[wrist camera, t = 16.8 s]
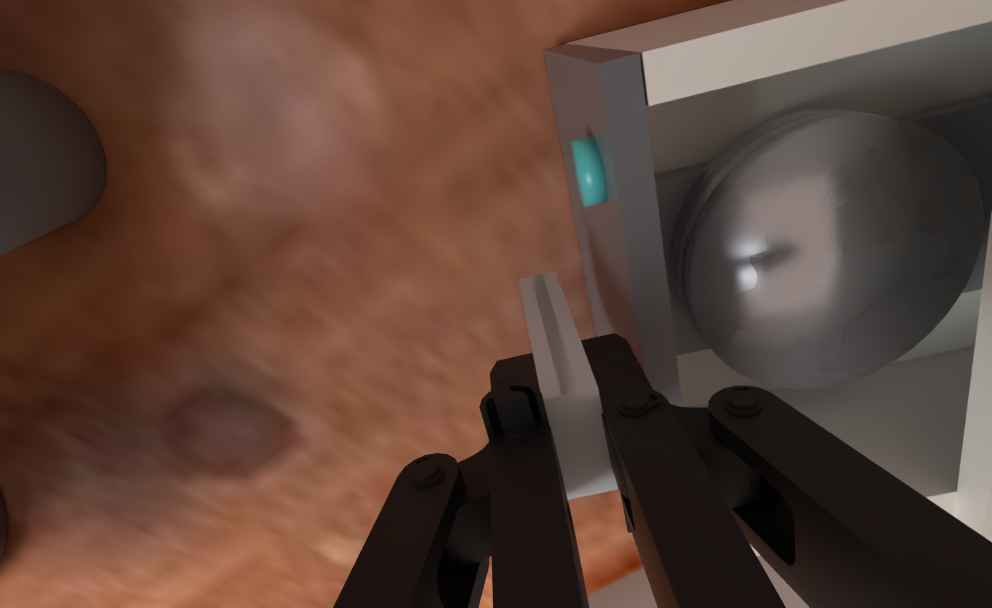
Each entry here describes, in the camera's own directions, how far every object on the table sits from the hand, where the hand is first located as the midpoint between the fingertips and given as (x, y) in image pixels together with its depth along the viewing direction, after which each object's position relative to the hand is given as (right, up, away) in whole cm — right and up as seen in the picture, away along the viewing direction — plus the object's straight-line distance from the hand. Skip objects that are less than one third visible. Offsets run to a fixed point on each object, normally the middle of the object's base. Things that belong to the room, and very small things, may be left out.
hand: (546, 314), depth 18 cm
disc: (+8, +2, 0) cm, 8 cm away
